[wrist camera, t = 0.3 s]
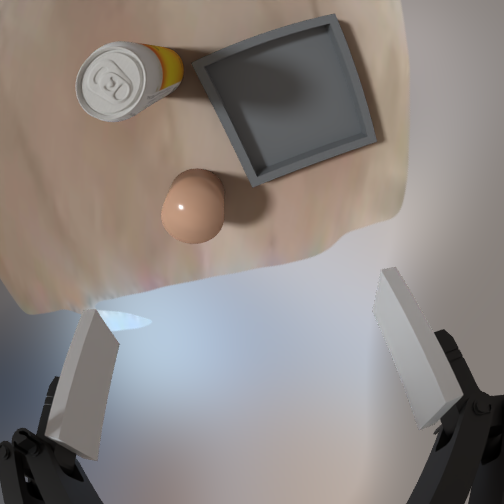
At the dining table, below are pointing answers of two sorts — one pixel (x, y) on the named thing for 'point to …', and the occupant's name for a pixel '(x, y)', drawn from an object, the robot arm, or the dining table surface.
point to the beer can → (126, 79)
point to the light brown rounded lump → (194, 206)
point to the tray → (288, 97)
